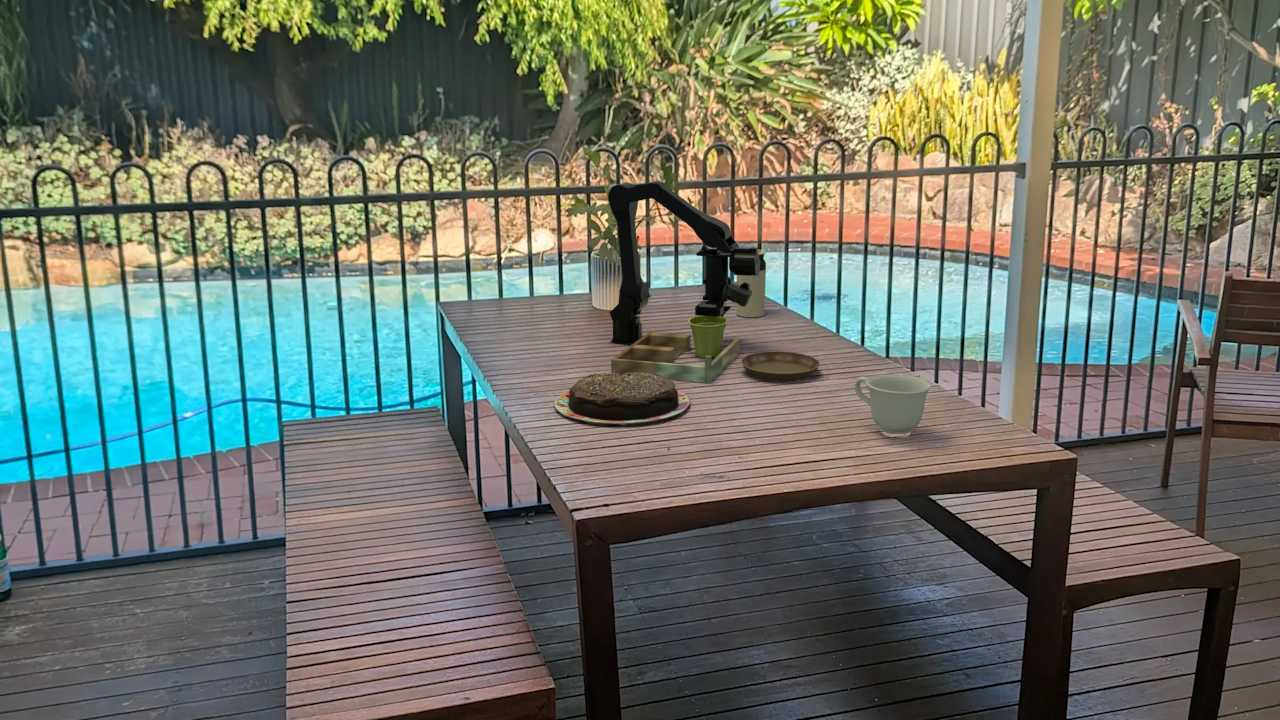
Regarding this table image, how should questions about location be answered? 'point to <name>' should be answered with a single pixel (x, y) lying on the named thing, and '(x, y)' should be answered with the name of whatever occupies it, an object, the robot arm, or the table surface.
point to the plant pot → (707, 334)
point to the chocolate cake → (622, 399)
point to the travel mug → (754, 292)
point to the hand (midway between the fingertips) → (716, 336)
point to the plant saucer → (780, 366)
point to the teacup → (895, 401)
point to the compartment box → (670, 358)
